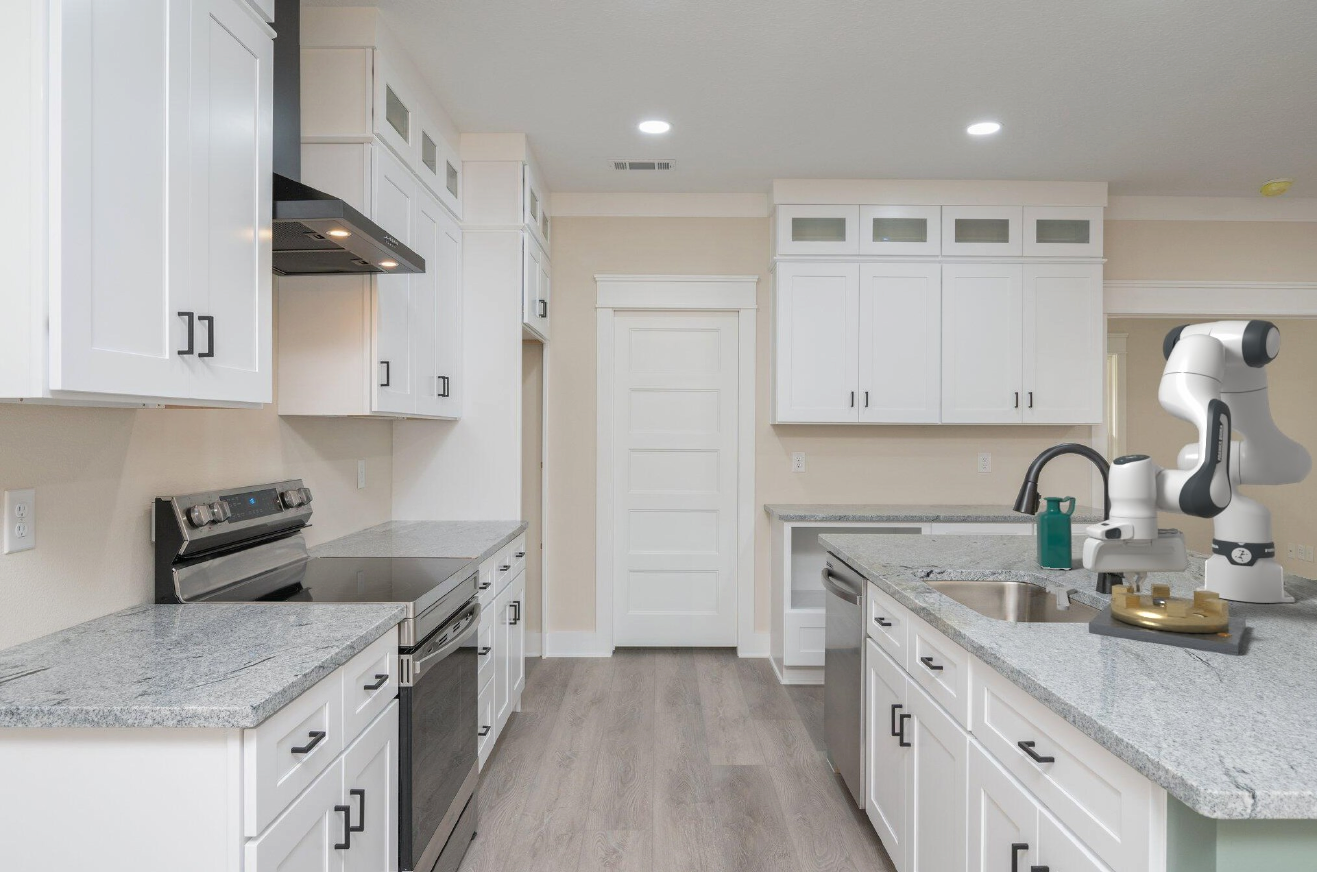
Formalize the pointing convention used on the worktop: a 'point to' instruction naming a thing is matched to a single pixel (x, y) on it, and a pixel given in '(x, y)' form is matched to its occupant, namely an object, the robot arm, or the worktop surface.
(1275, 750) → the worktop surface
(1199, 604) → the ring nut
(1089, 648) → the worktop surface
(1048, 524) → the pitcher
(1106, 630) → the base plate
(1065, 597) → the adjustable wrench
